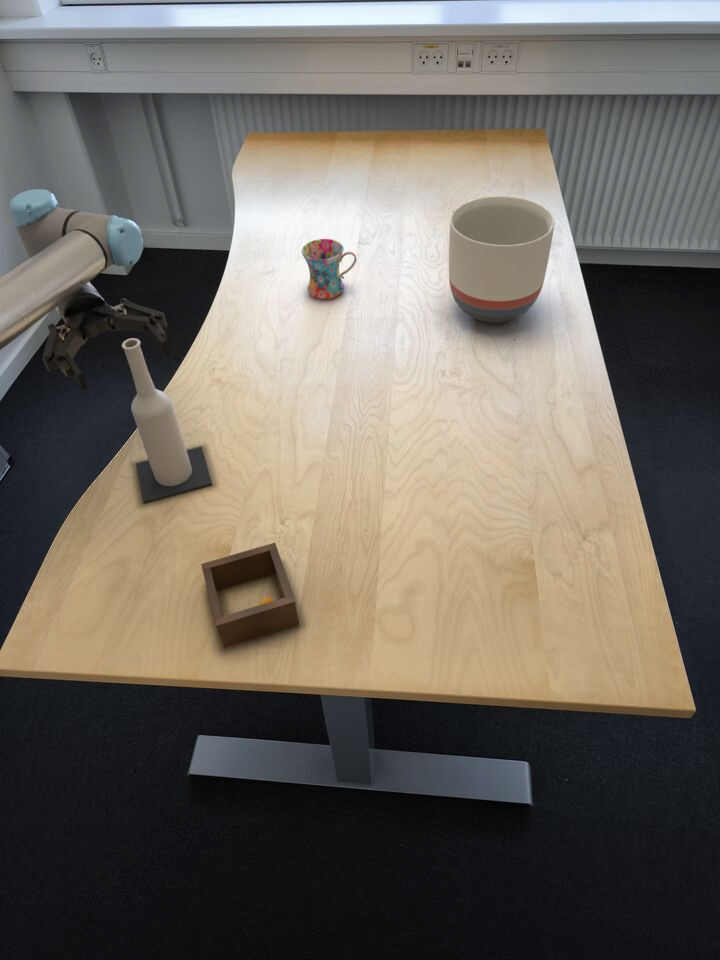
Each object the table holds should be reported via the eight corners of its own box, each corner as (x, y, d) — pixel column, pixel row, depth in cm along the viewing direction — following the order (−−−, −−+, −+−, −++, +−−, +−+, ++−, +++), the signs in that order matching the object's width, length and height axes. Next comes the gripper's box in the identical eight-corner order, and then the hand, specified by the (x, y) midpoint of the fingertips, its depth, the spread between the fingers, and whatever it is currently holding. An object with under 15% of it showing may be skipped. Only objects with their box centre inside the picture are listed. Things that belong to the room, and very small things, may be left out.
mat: (143, 503, 126) (143, 501, 125) (136, 465, 132) (135, 463, 132) (212, 485, 128) (211, 483, 128) (202, 448, 135) (201, 446, 134)
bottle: (194, 459, 132) (156, 329, 112) (188, 485, 127) (147, 355, 107) (158, 460, 132) (114, 330, 112) (151, 486, 128) (103, 357, 107)
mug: (306, 304, 166) (302, 261, 158) (305, 282, 172) (300, 240, 164) (359, 299, 166) (357, 257, 158) (356, 277, 172) (353, 235, 165)
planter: (536, 287, 166) (549, 195, 151) (543, 340, 152) (559, 245, 137) (446, 286, 168) (450, 196, 152) (445, 339, 154) (450, 245, 139)
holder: (223, 648, 105) (215, 625, 101) (208, 587, 113) (200, 563, 109) (299, 624, 108) (295, 601, 103) (280, 565, 115) (275, 542, 111)
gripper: (152, 298, 133) (202, 355, 120) (15, 348, 124) (54, 415, 111) (141, 261, 128) (193, 316, 115) (-3, 310, 119) (36, 376, 106)
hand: (125, 365), depth 113 cm, fingers open, 13 cm apart
